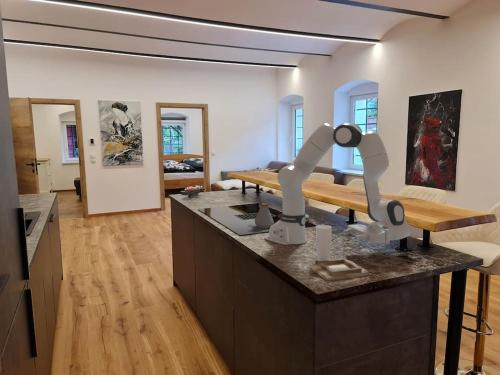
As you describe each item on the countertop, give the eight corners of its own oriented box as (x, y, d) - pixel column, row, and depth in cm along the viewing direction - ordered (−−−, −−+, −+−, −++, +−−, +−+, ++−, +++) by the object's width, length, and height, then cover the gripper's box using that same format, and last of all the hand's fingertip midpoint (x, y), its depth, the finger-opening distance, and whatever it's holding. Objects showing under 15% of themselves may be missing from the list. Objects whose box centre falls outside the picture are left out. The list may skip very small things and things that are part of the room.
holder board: (310, 268, 147) (310, 261, 147) (349, 263, 152) (349, 256, 152) (327, 280, 134) (327, 273, 134) (369, 275, 139) (369, 268, 139)
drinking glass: (313, 262, 154) (314, 228, 151) (316, 257, 160) (317, 224, 158) (329, 264, 151) (330, 229, 149) (332, 259, 157) (332, 225, 155)
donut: (288, 219, 235) (288, 213, 234) (307, 218, 236) (307, 212, 235) (292, 223, 223) (292, 217, 222) (311, 223, 224) (311, 216, 223)
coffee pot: (275, 228, 211) (275, 203, 209) (256, 229, 209) (256, 203, 207) (268, 220, 232) (268, 197, 229) (250, 221, 230) (250, 197, 228)
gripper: (363, 220, 171) (337, 222, 167) (392, 230, 151) (363, 233, 147) (363, 233, 171) (337, 236, 167) (391, 245, 152) (363, 248, 148)
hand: (349, 235), depth 157 cm, fingers open, 8 cm apart
